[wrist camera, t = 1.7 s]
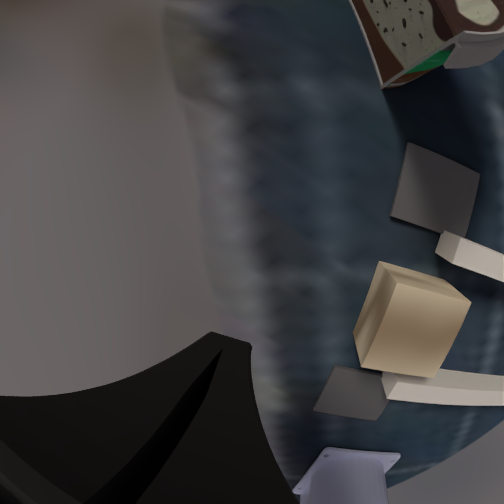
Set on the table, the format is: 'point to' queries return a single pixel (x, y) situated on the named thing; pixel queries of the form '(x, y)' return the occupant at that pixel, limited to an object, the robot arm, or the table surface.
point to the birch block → (408, 321)
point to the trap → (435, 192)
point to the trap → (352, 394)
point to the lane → (448, 381)
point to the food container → (428, 35)
